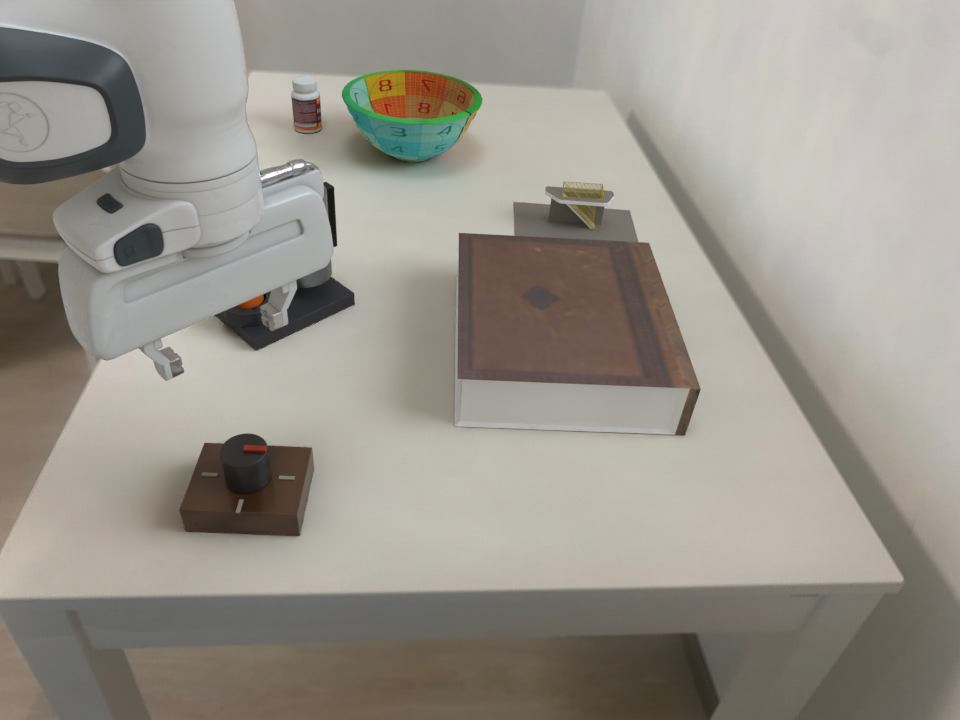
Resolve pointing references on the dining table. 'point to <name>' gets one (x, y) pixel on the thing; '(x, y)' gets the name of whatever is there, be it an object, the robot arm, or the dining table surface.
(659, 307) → the book
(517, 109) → the dining table surface
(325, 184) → the kettle
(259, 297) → the orange button
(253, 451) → the dial knob
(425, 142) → the bowl
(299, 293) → the button base
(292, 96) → the pill bottle
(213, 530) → the dial panel
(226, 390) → the dining table surface
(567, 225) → the platform
